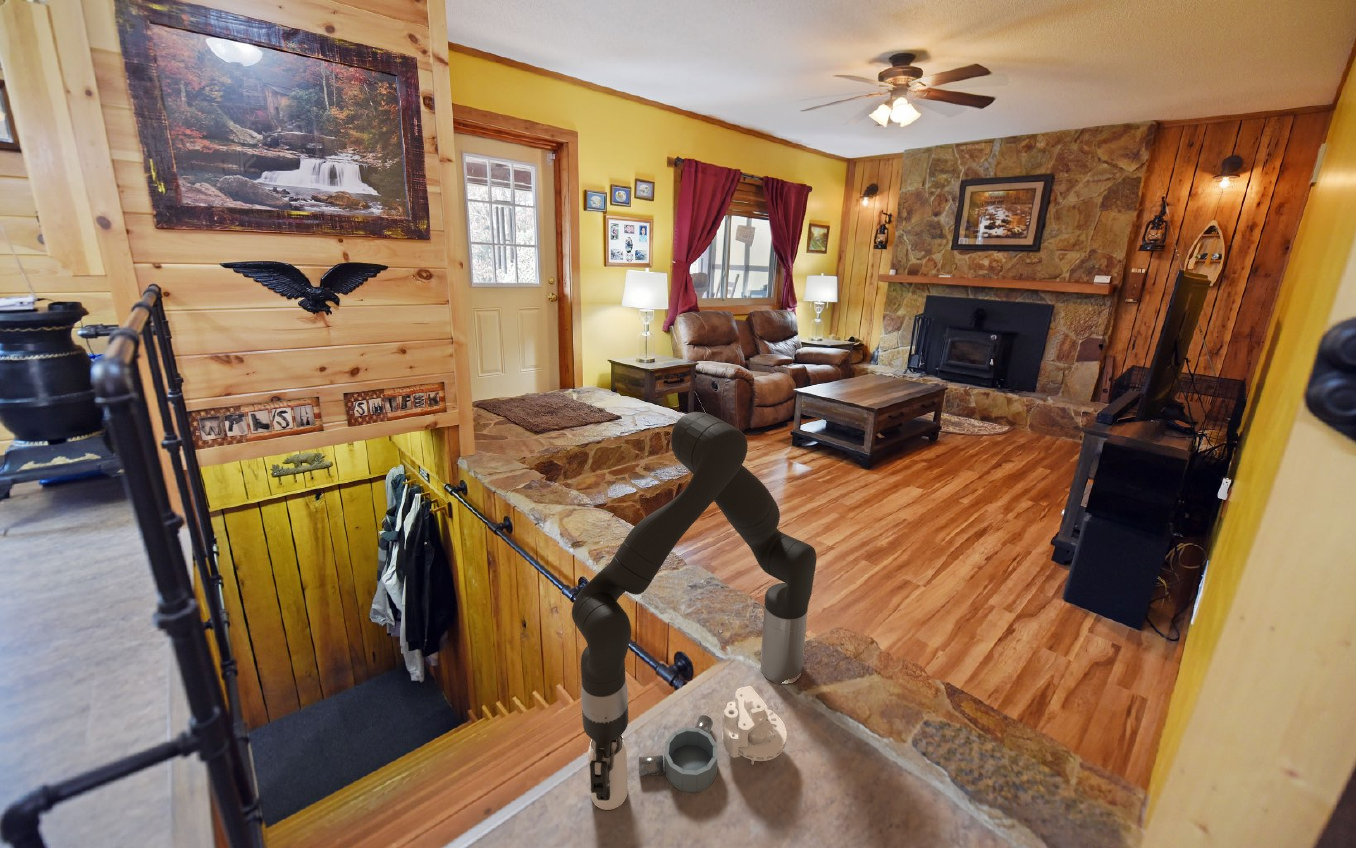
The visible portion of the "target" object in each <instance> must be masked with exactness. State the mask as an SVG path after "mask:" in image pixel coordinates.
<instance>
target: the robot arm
mask: <svg viewBox="0 0 1356 848" xmlns="http://www.w3.org/2000/svg"><path fill="white" fill-rule="evenodd" d="M670 444H671V450H672V453H673V455H674V456H675V458H676V460H677V461H679V462H680V463H681V464H682V466H684V467H685V468H686V469H688V471H689V473H691V474H693V475H692V477H691V479H690V481H688V483H687V485H686V486H685V487H684V489H682V491H681V492H680V493H679V494H678V495H677V496H675V497H674V498H673V499H672V500H670V501H669V502H667V503H666V504H665V505H663V506H661V507H660V508H658V509H655V511H653V512H652V513H649V514H648V515H646V516H645V517H644V518H642V519H641V520H640V521H639V522H638V523H637V524H636V525H634V527H633V528H632V529H631V530H630V531H629V533H628V534H627V536H626V537H625V539H624V540H623V541H622V544H621V545H620V546H619V548H618V549H617V551H616V553H615V554H614V556H613V557H612V559H611V561H610V562H609V563H608V564H607V565H605V566H604V568H603V569H601V570H600V571H599V572H598V573H597V574H596V575H595V576H594V577H593V578H591V580H589V582H587V583H586V584H585V585H584V586H583V587H582V588H581V589H580V591H579V592H578V594H577V595H576V597H575V599H574V601H573V604H572V608H571V618H572V621H573V623H574V624H575V626H576V628H577V629H578V631H579V632H580V634H581V635H582V637H583V638H584V640H585V642H586V644H587V645H586V647H585V648H584V649H583V651H582V654H581V658H580V674H581V676H580V677H581V689H580V699H581V714H582V716H581V717H582V727H583V731H584V732H585V734H586V735H587V736H588V737H589V738H590V739H592V740H593V745H592V748H593V760H591V763H590V773H589V777H590V776H591V787H590V794H591V793H596V798H597V799H598V800H603V801H607V800H609V799H610V772H611V770H612V769H613V767H614V759H615V750H616V748H617V738H618V737H619V736H620V735H623V734H624V733H625V731H626V730H627V728H628V726H629V702H628V699H629V697H628V696H629V695H628V684H627V680H626V678H627V677H626V657H627V654H628V650H629V646H630V642H631V638H632V626H631V621H630V618H629V616H628V613H627V612H626V611H625V610H624V609H623V607H622V605H620V603H619V602H618V601H619V599H620V597H621V596H623V594H625V592H627V594H631V595H637V596H638V595H641V594H643V593H644V592H645V591H646V590H647V589H648V588H649V586H650V584H651V583H652V581H653V580H654V579H655V577H656V576H657V574H658V572H659V571H660V569H661V567H662V566H663V564H664V563H665V562H666V560H667V558H668V557H669V555H670V554H671V552H672V550H673V549H674V548H675V546H676V545H677V544H678V543H679V541H680V540H681V539H682V537H683V536H684V534H686V532H687V531H689V529H690V527H691V526H693V525H694V523H696V521H697V520H698V519H699V518H700V516H701V515H703V513H704V512H705V511H706V510H707V508H709V507H710V506H711V504H712V503H713V502H714V503H715V504H716V505H717V507H718V508H719V510H720V511H721V512H722V514H723V515H724V517H725V518H726V520H727V521H728V522H729V524H730V525H731V526H732V528H733V529H734V530H735V531H736V532H737V533H738V534H739V535H740V537H741V538H742V539H743V542H745V543H746V544H747V546H748V547H749V549H750V550H751V551H752V554H753V556H754V557H755V559H756V562H757V564H758V565H759V567H760V568H761V569H762V571H763V572H765V574H767V575H769V576H771V577H773V578H775V579H777V580H779V581H781V582H779V583H776V584H772V585H771V586H770V587H768V588H767V590H766V591H765V594H764V605H763V606H764V607H763V608H764V609H763V620H762V621H763V625H762V637H761V639H762V640H761V653H760V664H761V667H760V671H761V670H762V671H761V673H762V674H763V676H764V677H765V678H766V679H767V680H769V681H770V682H773V683H775V684H778V685H780V684H779V683H782V682H784V681H785V680H788V679H792V678H795V677H797V676H798V675H799V674H800V673H801V670H802V671H803V662H804V661H803V660H804V652H805V643H806V642H805V641H806V631H807V623H808V621H807V619H808V610H809V604H810V600H811V596H812V594H813V593H812V592H813V584H814V579H815V573H816V567H817V559H818V558H817V551H816V549H815V547H813V545H811V544H808V543H807V542H804V541H802V540H800V539H798V538H794V537H792V536H790V535H789V534H786V533H784V532H782V531H781V530H779V528H778V526H779V523H780V518H781V513H780V508H779V506H778V504H777V502H776V500H775V498H774V497H773V495H772V494H771V493H770V492H771V491H770V490H769V489H768V488H767V486H766V485H765V484H764V482H762V481H761V480H760V479H759V477H757V476H756V475H755V474H754V473H752V472H751V471H750V470H749V469H748V468H746V467H745V465H743V463H744V462H745V460H746V457H747V453H748V448H749V447H748V446H749V445H748V439H747V437H746V435H745V433H743V431H741V430H740V429H738V428H736V427H735V426H733V425H731V424H729V423H727V422H725V421H724V420H722V419H720V418H718V417H716V416H714V415H712V414H709V413H706V412H700V411H692V412H689V413H686V414H684V415H682V416H681V417H680V418H679V419H678V420H677V421H676V422H675V424H674V426H673V429H672V432H671V436H670ZM801 674H802V673H801ZM610 756H611V757H610ZM609 757H610V763H607V761H603V760H604V758H609Z"/></svg>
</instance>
